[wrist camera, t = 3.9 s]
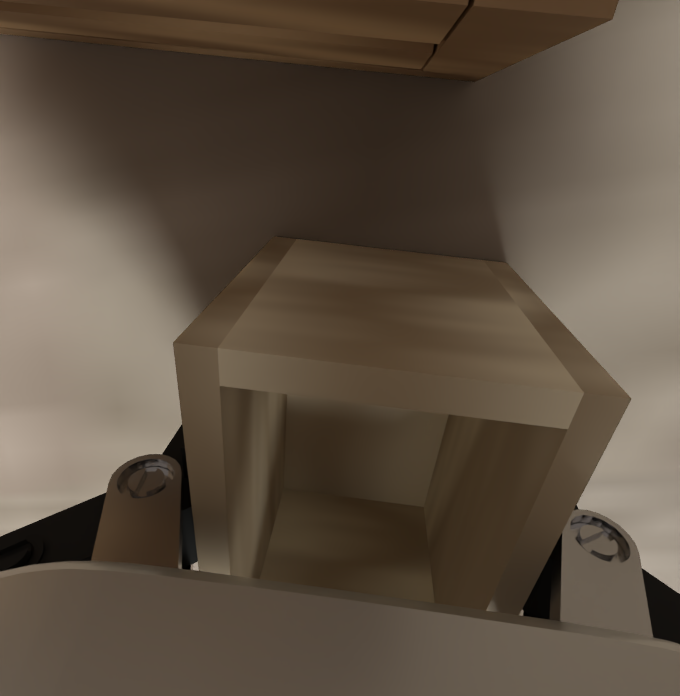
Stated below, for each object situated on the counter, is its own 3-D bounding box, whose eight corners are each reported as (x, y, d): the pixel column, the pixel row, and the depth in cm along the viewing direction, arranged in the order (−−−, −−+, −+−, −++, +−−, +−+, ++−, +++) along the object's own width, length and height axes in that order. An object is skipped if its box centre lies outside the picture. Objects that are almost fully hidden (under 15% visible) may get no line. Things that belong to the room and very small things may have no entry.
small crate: (506, 262, 11) (631, 398, 5) (435, 507, 15) (466, 716, 10) (274, 236, 11) (172, 342, 6) (270, 485, 15) (210, 679, 10)
